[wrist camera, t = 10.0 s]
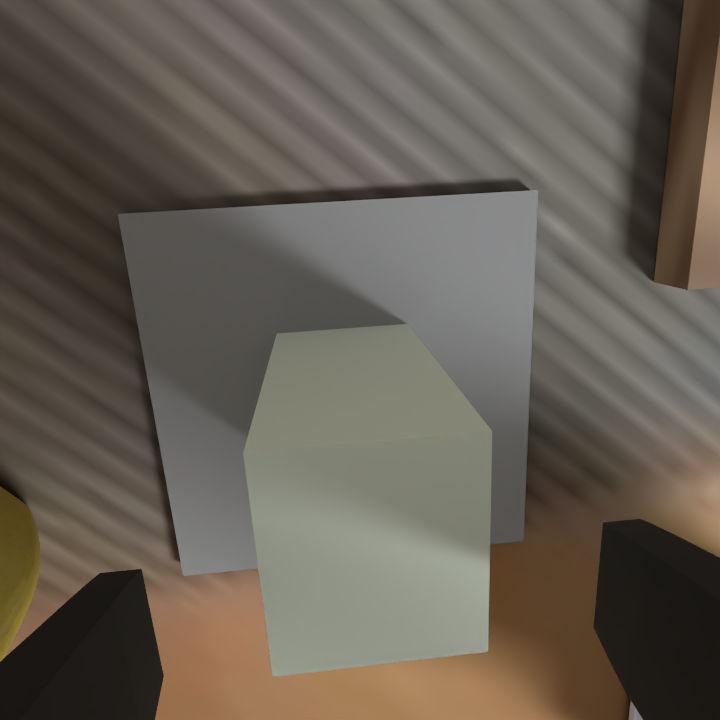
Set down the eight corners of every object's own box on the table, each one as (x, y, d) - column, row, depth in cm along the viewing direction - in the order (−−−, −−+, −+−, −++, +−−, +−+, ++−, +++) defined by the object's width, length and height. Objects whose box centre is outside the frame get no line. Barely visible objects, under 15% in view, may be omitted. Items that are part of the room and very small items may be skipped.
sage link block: (411, 455, 17) (488, 651, 10) (290, 466, 17) (272, 676, 10) (407, 323, 16) (491, 430, 8) (276, 333, 16) (243, 453, 8)
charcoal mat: (518, 532, 19) (523, 541, 19) (186, 566, 18) (182, 576, 18) (531, 190, 16) (538, 189, 15) (123, 213, 15) (117, 214, 15)
